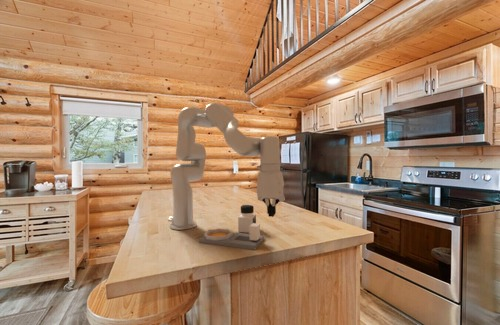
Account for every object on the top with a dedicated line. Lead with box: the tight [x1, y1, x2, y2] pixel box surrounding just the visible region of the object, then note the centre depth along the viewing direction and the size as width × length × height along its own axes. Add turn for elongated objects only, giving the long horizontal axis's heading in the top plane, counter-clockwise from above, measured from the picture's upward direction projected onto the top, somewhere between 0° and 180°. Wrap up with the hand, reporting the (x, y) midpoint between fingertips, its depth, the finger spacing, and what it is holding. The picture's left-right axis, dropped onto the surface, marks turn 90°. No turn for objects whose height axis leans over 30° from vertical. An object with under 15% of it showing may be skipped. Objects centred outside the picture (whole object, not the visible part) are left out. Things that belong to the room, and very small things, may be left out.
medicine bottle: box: [237, 204, 257, 234], centre depth 111 cm, size 7×7×12 cm
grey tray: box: [198, 228, 265, 251], centre depth 98 cm, size 24×12×3 cm, turn 70°
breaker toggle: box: [249, 223, 261, 241], centre depth 94 cm, size 3×4×6 cm
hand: (271, 215), depth 92 cm, fingers closed
